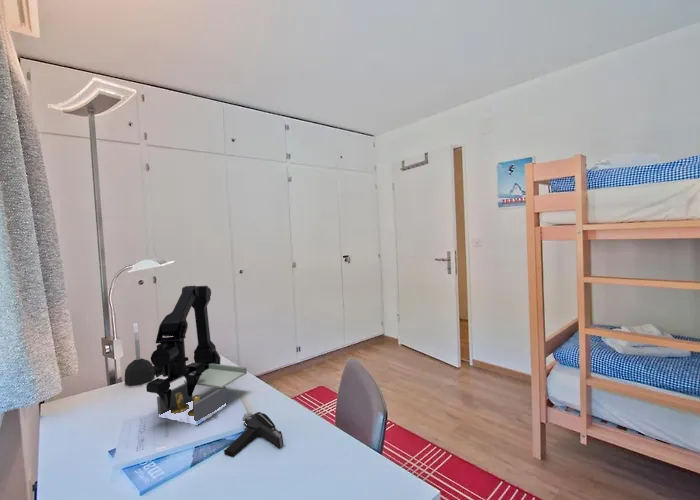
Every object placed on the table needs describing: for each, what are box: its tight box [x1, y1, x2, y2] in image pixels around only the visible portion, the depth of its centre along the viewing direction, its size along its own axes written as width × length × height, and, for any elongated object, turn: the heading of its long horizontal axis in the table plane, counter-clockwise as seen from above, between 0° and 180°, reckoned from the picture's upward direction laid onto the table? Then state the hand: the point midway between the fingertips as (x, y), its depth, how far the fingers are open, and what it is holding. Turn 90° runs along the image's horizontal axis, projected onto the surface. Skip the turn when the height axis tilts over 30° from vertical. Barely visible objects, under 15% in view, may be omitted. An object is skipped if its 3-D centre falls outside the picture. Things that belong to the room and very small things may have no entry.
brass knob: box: [188, 394, 201, 416], centre depth 115 cm, size 6×6×6 cm
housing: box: [156, 383, 228, 421], centre depth 118 cm, size 13×17×7 cm
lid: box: [183, 363, 248, 389], centre depth 128 cm, size 13×17×2 cm
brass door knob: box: [171, 392, 189, 414], centre depth 118 cm, size 6×6×6 cm
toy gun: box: [223, 411, 285, 458], centre depth 101 cm, size 5×21×15 cm
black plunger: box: [124, 322, 156, 389], centre depth 147 cm, size 11×11×25 cm
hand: (179, 402), depth 117 cm, fingers open, 9 cm apart
